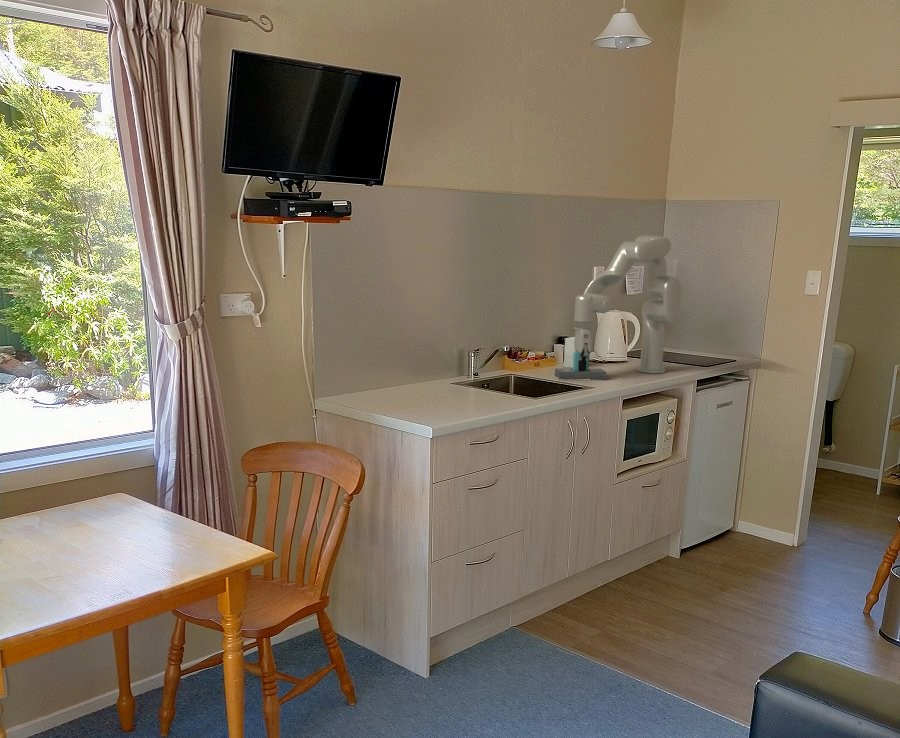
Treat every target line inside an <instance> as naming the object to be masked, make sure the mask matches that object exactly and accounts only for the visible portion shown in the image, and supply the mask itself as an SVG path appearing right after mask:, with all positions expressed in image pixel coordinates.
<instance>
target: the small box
mask: <svg viewBox="0 0 900 738" xmlns="http://www.w3.org/2000/svg"><path fill="white" fill-rule="evenodd" d="M574 341H575V336H573V337H572V336H571V337H566V338H564V354H563V367H566V368H573V354H574V352H576V350H575V349H574Z"/></svg>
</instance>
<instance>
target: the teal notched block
mask: <svg viewBox="0 0 900 738" xmlns="http://www.w3.org/2000/svg"><path fill="white" fill-rule="evenodd" d="M582 353H584V352H582ZM590 354H591V353H588V356H587V362H586V370H583V371H589V369H590V357H591V356H590ZM579 360H580V353H579V352H574V354H573V371H578V364H579Z"/></svg>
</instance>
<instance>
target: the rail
mask: <svg viewBox="0 0 900 738" xmlns="http://www.w3.org/2000/svg"><path fill="white" fill-rule="evenodd" d="M555 376H556V377H558V378H559V379H590V380H589V381H607V371H606V370H604V369H602V368H589V371H583V370H578V371H573V368H569V367H566V368H558V367H556V368H554V377H555ZM556 377H555V378H556Z"/></svg>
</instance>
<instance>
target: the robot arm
mask: <svg viewBox="0 0 900 738" xmlns="http://www.w3.org/2000/svg"><path fill="white" fill-rule="evenodd" d="M671 243H672V242H671V241H670V239H668V237H665V236H660V235H640V236H637V238H636V239H635V240H634V241H623V243H621V245H620V246H619V247H618V248H617V250H616V252H615V254H614V255H613V257H612V259H611V261H610V262H609V265H608V266H607V268H606V269H605V270H604V271H603V272H601V273H600V274H599V275H597V276H596V277H595V278H594V279H593V280H592V281H590V282H589V284H588V285H587V287H586V288H585V290H584V291H583V294H578V295H577V296H576V297H575V300H574V301H575V303H574V321H573V322H574V324H573V329H575V332H574V333H575V334H574V337H575V341H574V349H575V350H576V352H579V353H580V360H579V364H578V370H586V362H587V356H588V353H590V354H591V353H592V340H593V339H592V330H593V322H594V321H593V320H594V313H596V314H597V313H599V314H606V313H608V312H610V311H611V310H612V308H613V305H614V303H613V299H612V298H611V297H610V296H608V295H605V294H601V293H602V292H603V291H605V290H606V289H608V287H611V286H614V285H617V284H619V283H622V281H624V280H625V279H626V277H627V275H628V273H629V272H630V270H631V268H632V267H633V265H634V263H639V264H641V263H644V264H645V267H646V272H645V273H646V274H645V275H646V276H645V277H646V278H645V279H646V280H645V289H646V291H645V292H646V294H648V296H651V297H655V298H659V299H649V300H647V301H645V302H644V303H643V305H642V306H641V317H642V318H641V319H642V335H641V351H640V363H639V365H637V367H636V371H637V372H639V373H645V374H664V373H666V368H673V367H674V363H673V362H666V361H664V359H663V358H664V348H665V347H664V346H665V337H666V336H665V334H666V332H665V331H666V330H665V326H664V324H667V325H672V324H673V325H674V324H676V323H677V322H678V321H679V318H680V317H681V312H682V310H681V309H682V284H681V282H680V280H679V279H678V278H677V277H675V276H670V275H667V270H668V269H667V260H666V256H667V255H668V254H669V253H670V251H671V249H672V244H671ZM660 298H661V299H663V300H660ZM582 352H584V353H582Z"/></svg>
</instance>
